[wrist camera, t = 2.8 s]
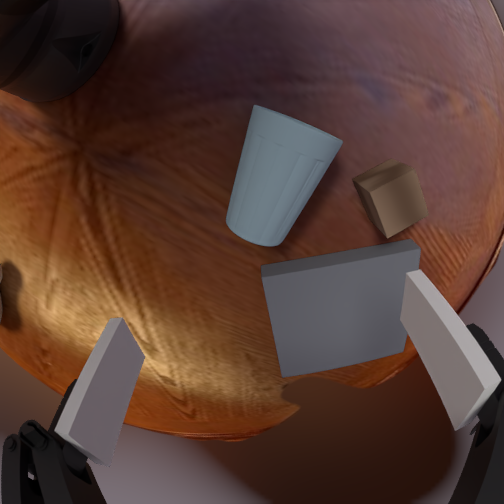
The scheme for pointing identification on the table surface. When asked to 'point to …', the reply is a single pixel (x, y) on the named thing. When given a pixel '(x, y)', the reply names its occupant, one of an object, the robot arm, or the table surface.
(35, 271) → the table surface
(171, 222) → the table surface
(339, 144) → the cup
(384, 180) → the walnut block
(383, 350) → the plinth
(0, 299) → the oil lamp
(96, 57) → the robot arm
